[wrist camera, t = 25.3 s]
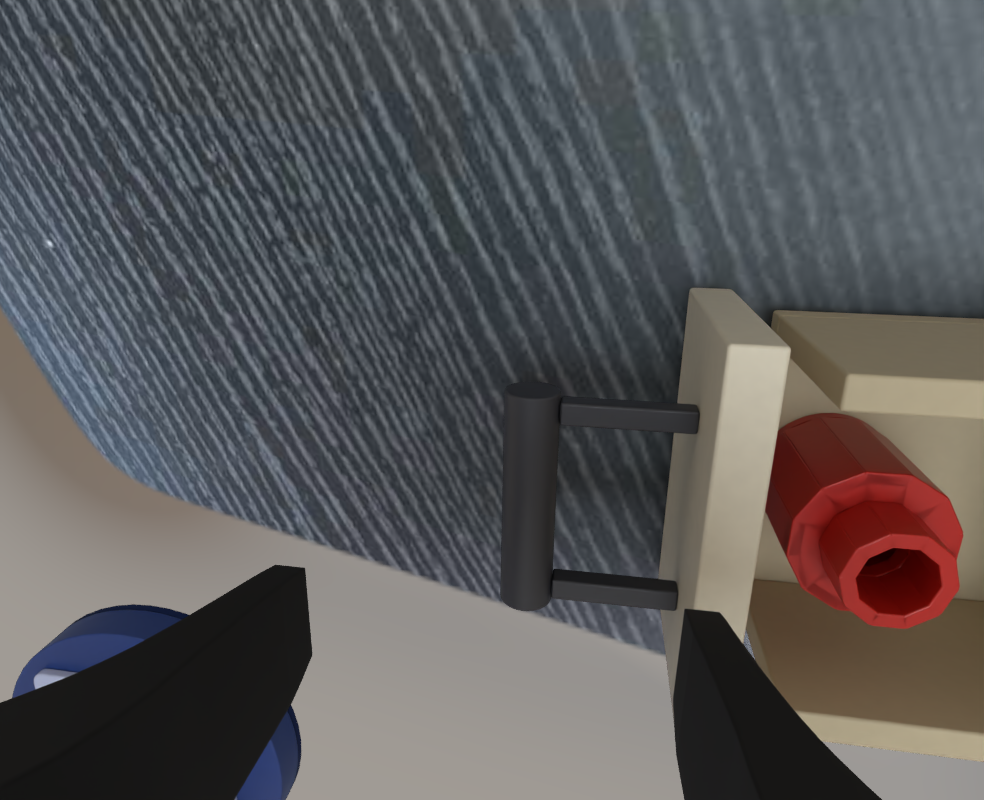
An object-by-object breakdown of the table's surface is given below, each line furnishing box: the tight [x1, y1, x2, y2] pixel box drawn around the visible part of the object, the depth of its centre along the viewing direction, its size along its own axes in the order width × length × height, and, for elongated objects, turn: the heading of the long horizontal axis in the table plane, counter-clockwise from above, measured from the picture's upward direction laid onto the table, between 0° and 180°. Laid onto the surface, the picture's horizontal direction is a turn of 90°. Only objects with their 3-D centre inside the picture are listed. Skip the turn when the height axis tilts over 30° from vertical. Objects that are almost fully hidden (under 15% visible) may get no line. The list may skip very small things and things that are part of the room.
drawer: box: [500, 288, 984, 762], centre depth 17 cm, size 17×10×7 cm, turn 89°
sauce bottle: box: [765, 413, 963, 629], centre depth 17 cm, size 4×4×6 cm
